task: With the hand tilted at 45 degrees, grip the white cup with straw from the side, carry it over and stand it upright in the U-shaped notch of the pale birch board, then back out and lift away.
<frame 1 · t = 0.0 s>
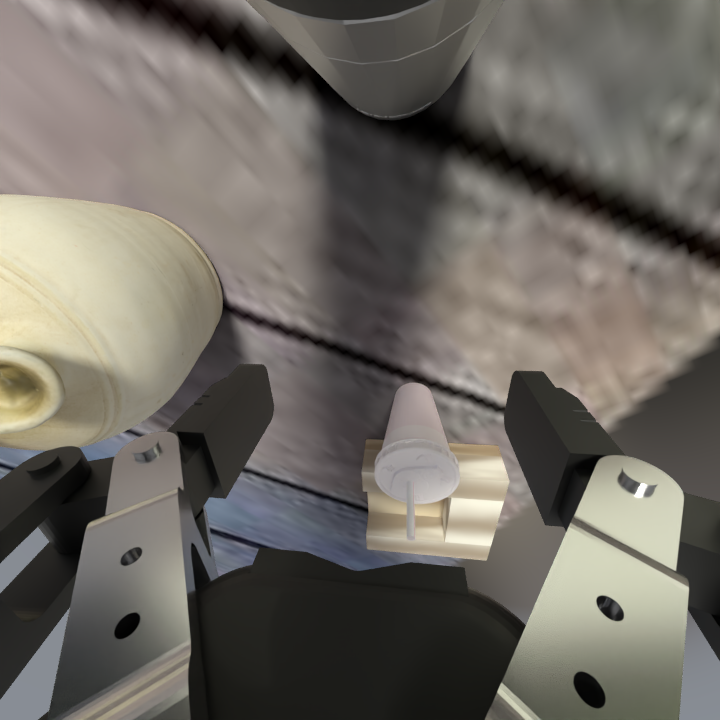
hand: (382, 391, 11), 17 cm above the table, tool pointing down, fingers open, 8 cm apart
white cup with straw: (413, 396, 32), on the table
jug: (159, 281, 29), on the table
notched board: (426, 484, 39), on the table
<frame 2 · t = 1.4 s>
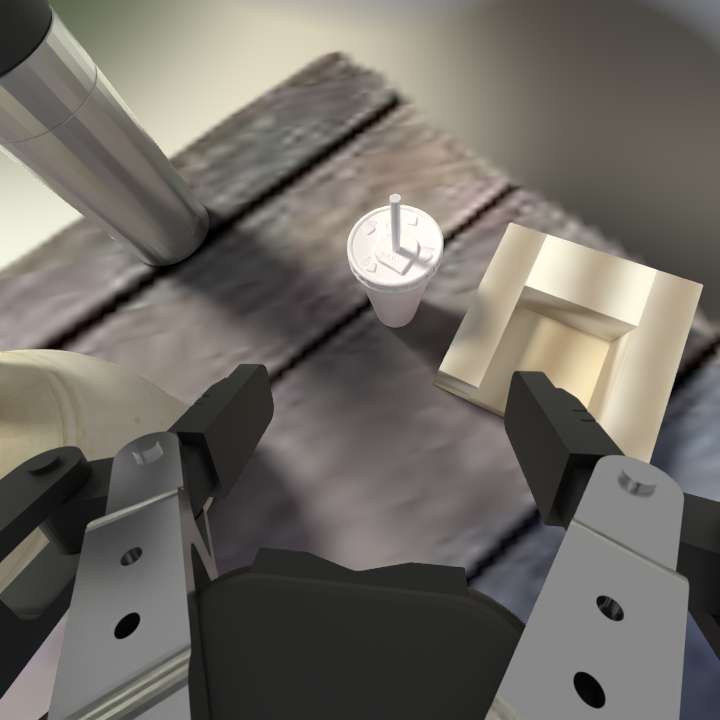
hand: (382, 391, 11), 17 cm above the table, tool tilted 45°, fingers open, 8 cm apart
white cup with straw: (395, 310, 30), on the table
jug: (156, 472, 28), on the table
notched board: (543, 348, 27), on the table
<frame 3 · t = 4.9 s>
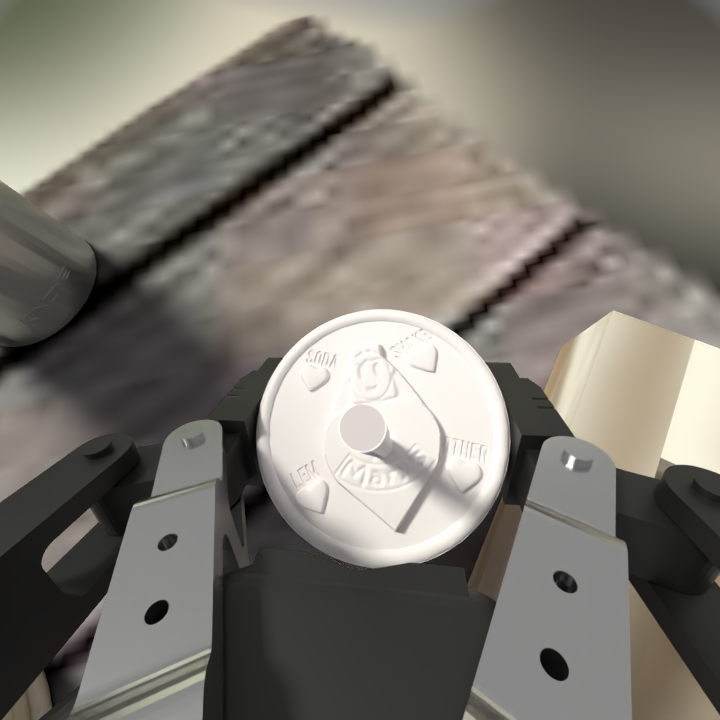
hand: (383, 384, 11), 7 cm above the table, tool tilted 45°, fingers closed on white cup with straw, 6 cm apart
white cup with straw: (388, 444, 17), on the table, touching gripper
notched board: (669, 544, 14), on the table
when the fingers open (10 cm above the table, at t = 10.5 s): white cup with straw drops 1 cm, resting on notched board.
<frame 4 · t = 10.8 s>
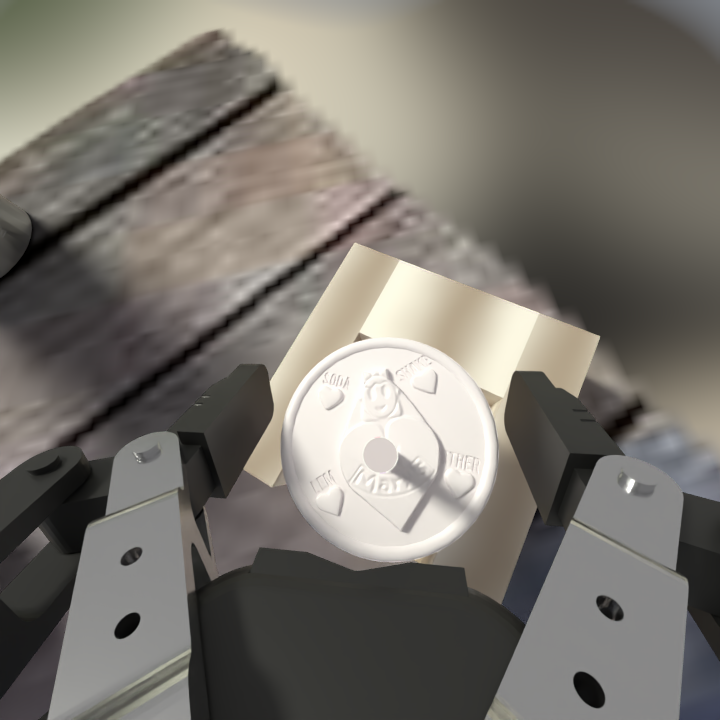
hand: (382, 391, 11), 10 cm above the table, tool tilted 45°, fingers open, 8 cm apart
white cup with straw: (391, 450, 19), point 1 cm above the table, touching notched board
notched board: (407, 410, 20), on the table
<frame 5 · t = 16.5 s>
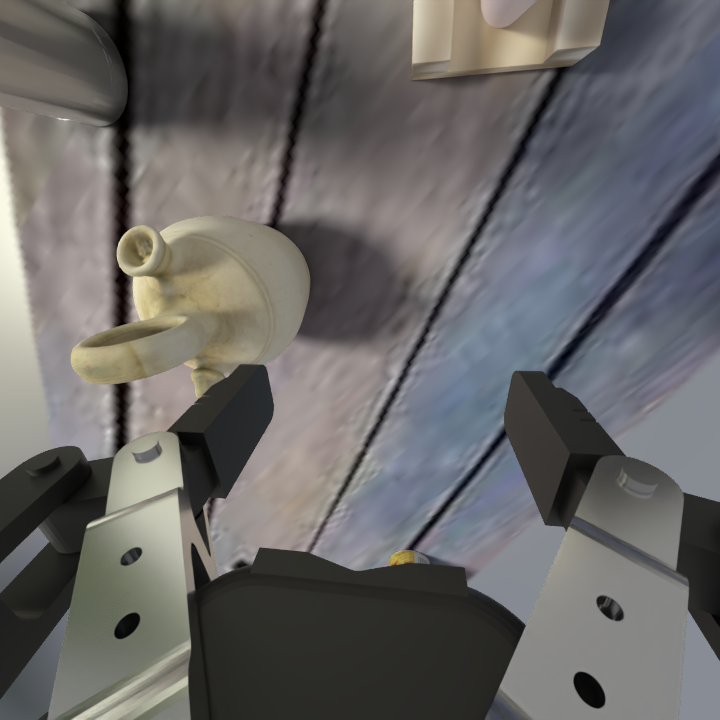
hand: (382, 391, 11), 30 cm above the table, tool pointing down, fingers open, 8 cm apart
jug: (263, 276, 41), on the table
canned food: (409, 561, 65), on the table
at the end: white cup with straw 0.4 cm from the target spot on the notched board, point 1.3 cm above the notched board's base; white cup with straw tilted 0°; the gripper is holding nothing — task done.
